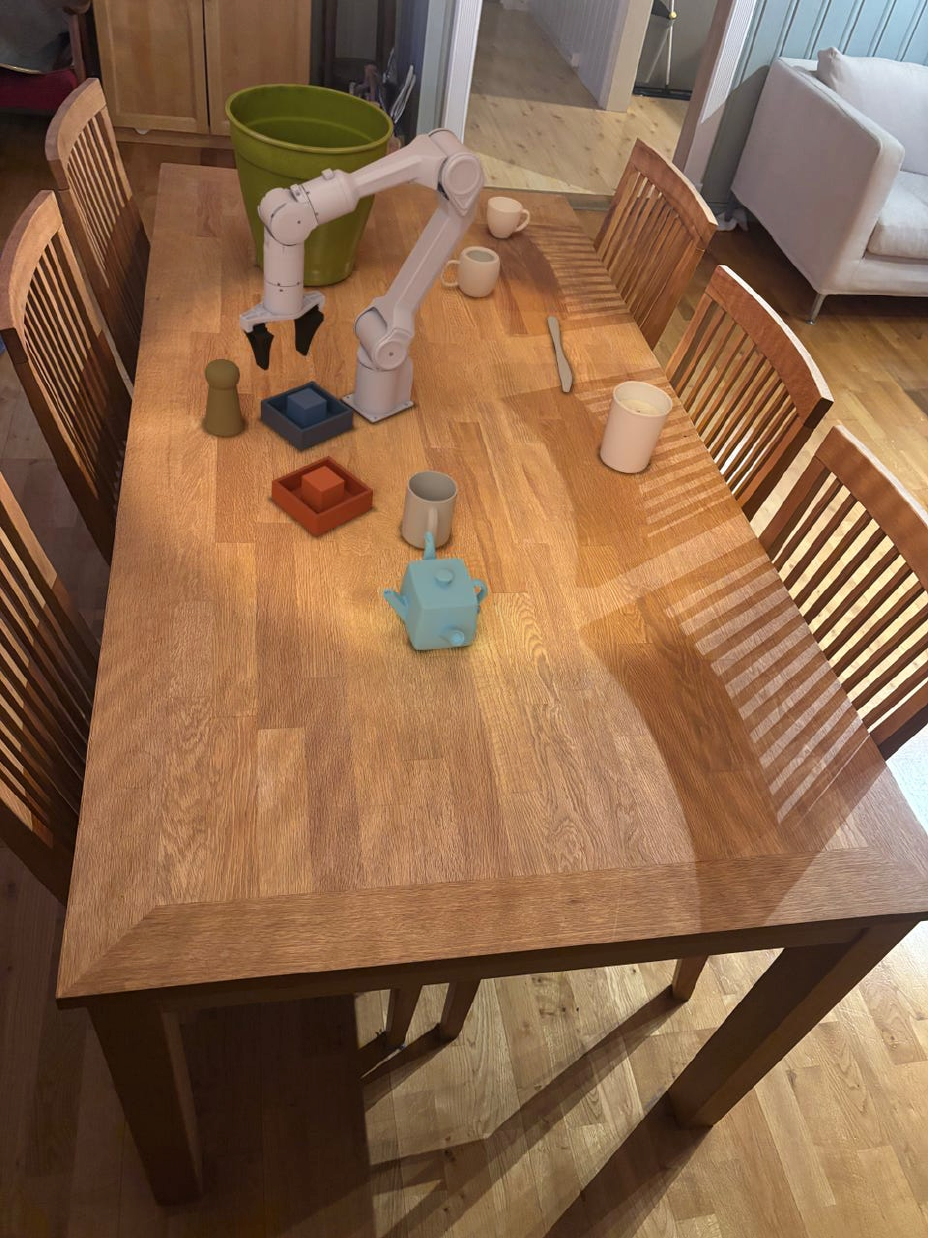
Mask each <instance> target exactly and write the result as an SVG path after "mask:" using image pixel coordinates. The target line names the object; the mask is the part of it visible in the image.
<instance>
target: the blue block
mask: <svg viewBox="0 0 928 1238" xmlns="http://www.w3.org/2000/svg"><path fill="white" fill-rule="evenodd" d="M326 406H327V401H326V400H325V399H324V398H322V397H321V396H320V395H318V394H317V393H316V392H314V391H313V390H312V389H310V388H307V389H305V390H302V391H299V392H297V393H294V394H292V395H289V396H288V399H287V418H288V419H289V420H290V421H291V422H293V423H294V424H295V425H297V426H298V427H299V428H301V429H305V428H307V427H310V426H312V425H314V424H317V423H319V422H322V421H324V420H326Z"/></svg>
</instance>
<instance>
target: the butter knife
mask: <svg viewBox="0 0 928 1238" xmlns="http://www.w3.org/2000/svg"><path fill="white" fill-rule="evenodd" d="M547 324H548V327H549V331H550V334H551V337H552V340H553V344H554V349H555V355H556V361H557V367H558V373H559V377H560V381H561V387H562V392H565V393H570V390H571V387H572V382H573V375H572V371H571V368H570V365H569V363H568V361H567V359H566V357H565V355H564V352H563V350H562V345H561V340H560V336H561V335H560V333H561V332H560V324H559V321H558V319H557V317H556V316H554V315H549V316H548V317H547Z"/></svg>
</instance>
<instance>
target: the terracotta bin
mask: <svg viewBox="0 0 928 1238" xmlns="http://www.w3.org/2000/svg"><path fill="white" fill-rule="evenodd" d="M323 466H326V467H328V468H329V469H330V470H331V471H333V472H334V473H335V474H336V475H338V476H339V477H340V478H342V479H343V480H344V481H345V483H344V496H343V502H342V503H340V504H338V505H336V506H334V507H332V508H330V509H328V510H326V511H324V512H322V513H320V514H318V513H317V512H316V511H314V510H313V509H312V508H311V507H309V506H308V505H307V504H306V503H305V502H303V501H302V500H301V488H302V476H303V475H306V474H308V473H310V472H312V471H315V470H317V469H319V468H321V467H323ZM373 499H374V490H373V488H371V487H369V486H368V485H367V484H366V483H364V482H363V481H362V480H360V479H359V478H358V477H357V476H356V475H354V474H353V473H352V472H350V471H349V470H347V469H346V468H345V467H343V465H341V464H340V463H339V462H337V461H336V460H334V459H333V458H332V457H331V456H330V455H327V456H325V457H322V458H320V459H318V460H315V461H313V462H311V463H308V464H307V465H305V466H302V467H300V468H298V469H295V470H293V471H291V472H289V473H286V474H284V475H281V476H280V477H277V478H275V479H273V480H272V481H271V501H273V502H274V503H275V504H276V505H277V506H278V507H280V508H281V509H282V510H283V511H285V513H287V514H288V515H289V516H291V517H292V518H293V519H294V520H295V521H296V522H298V523H299V524H300V525H301V526H303V527H304V528H305V530H307V531H308V532H310V533H311V534H312V535H313V536H314V537H319V536H321V535H322V534H325V533H326V532H329V531H331V530H332V529H335V528H336V527H338V526H341V525H342V524H344V523H346V522H349V521H350V520H352V519H355V518H356V517H358V516H360V515H362V514H364V513H367V512H368V511H371V510H372V507H373Z"/></svg>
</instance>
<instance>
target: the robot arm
mask: <svg viewBox="0 0 928 1238" xmlns="http://www.w3.org/2000/svg"><path fill="white" fill-rule="evenodd" d="M410 182H414V183H416V184H419V185H421V186H424V187H426V188H428V189H430V190H434V194H435V198H436V201H437V207H436V208H435V210H434V213H433V214H432V216H431V217H430V219H429V221H428V223H427V224H426V226H425V228H424V229H423V231H422V233H421V234H420V235H419V238H418V239H417V241H416V242H415V245H414V246H413V248H412V250H411V252H410V253H409V254H408V256H407V258H406V259H405V261H404V263H403V265H402V267H401V268H400V269H399V271H398V273H397V274H396V277H394V280H393V281H392V283H391V285H390V286H389V288H388V289H387V291H386V293H385V294H384V295H380V296H376V297H374V298H373V299H372V301H370V304H369V305H368V306H367V307H366V308H364V309H363V310H362V311H361V312H360V313H358V315H357V316H356V318H355V319H354V320H353V321H354V322H353V328H352V329H353V333H354V335H355V337H356V338H357V339H358V340H359V341H358V349H357V352H356V362H355V373H354V374H355V375H354V386H353V387H354V388H353V392H352V393H350V394H348V395H345V396H343V397H342V398H341V402H343V403H344V404H345V405H347V406H348V407H349V408H351V409H352V410H353V411H356V412H357V413H359V415H362V417H364V418H365V419H367V420H368V421H369V422H371V423H376V422H378V421H382V420H383V419H385V418H387V417H390V416H393V415H395V414H397V413H399V412H401V411H404V410H406V409H409V408H410V407H413V406H414V402H413V401H412V400H411V397H412V396H411V395H412V389H413V381H414V372H415V370H414V369H415V368H414V364H413V360H412V358H411V357H410V355H409V353H410V346H411V344H412V341H413V340H414V338H415V335H416V325H415V324H416V321H415V320H416V319H415V316H416V314H417V312H418V311H419V309H420V308H421V307H422V305H423V303H424V301H425V300H426V298H427V296H428V295H429V294H430V292H431V290H432V288H433V287H434V285H435V284H436V282H437V280H438V279H439V278H440V274H441V272H442V270H443V269H444V267H445V266H446V264H447V262H448V261H449V260H451V258H452V256H453V254H454V252H455V251H456V250H457V248H458V246H459V245H460V243H461V242H462V240H463V238H464V236H465V235H466V234H467V231H468V230H469V229H470V227H471V225H472V223H473V222H474V220H475V218H476V216H477V214H478V208H479V207H478V206H479V201H480V195H481V191H482V189H483V187H484V186H485V184H486V183H487V178H486V174H485V171H484V167H483V164H482V161H481V160H480V158H479V156H477V155H476V154H475V153H473V152H472V151H471V150H470V149H469V148H468V147H467V146H465V144H464V143H462V141H461V140H460V139H459V138H458V136H457V135H456V134H455V133H454V132H453V131H452V130H450V129H449V128H446V127H438V128H434V129H432V130H430V131H428V132H427V133H422V134H418V135H416V136H415V137H414V139H412V140H411V142H409V144H407V145H405V146H404V147H402V148H400V149H397V150H395V151H393V152H391V153H390V154H388V155H387V154H386V156H385V157H383V158H381V159H379V160H377V161H375V162H373V163H371V164H369V165H367V166H365V167H363V168H361V169H359V170H357V171H355V172H353V173H351V174H349V173H346V172H343V171H341V170H339V169H337V170H334V171H331V169H326V170H324V171H322V176H320V177H317V178H315V179H312V180H310V181H308V182H305V183H303V184H301V185H297V184H294V185H292V186H290V188H291V189H290V190H288V189H286V188H285V189H283V188H276V189H273V190H271V191H269V192H268V193H267V194H266V196H265V197H263V199H262V201H261V204H260V206H258V213H259V216H260V218H261V219H262V221H263V222H264V223H265V225H266V226H265V227H264V270H263V294H262V296H261V300H262V301H260V302H259V303H257V304H255V306H253V307H251V308H250V309H249V310H247V311H245V312H244V313H241V314H239V315H238V327H239V328H240V329H241V330H242V331H243V333H244V335H245V336H246V338H247V340H248V342H249V345H250V346H251V349H252V352H253V355H254V359H255V363H256V366H258V368H260V369H261V370H263V371H267V370H269V367H270V359H271V356H270V355H271V347H272V343H273V340H274V338H275V335H274V334H273V333H271V332H270V331H269V330H268V327H266V325H267V324H270V323H274V322H275V323H276V322H285V321H293V322H294V323H293V324H294V348H295V351H296V352H297V353H299V354H300V355H302V357H306V356H308V355H309V350H310V348H311V345H312V342H313V339H314V338H315V337H314V336H315V335H316V333H317V331H318V329H319V328H320V326H321V325H322V323H324V321H325V314H324V313H323V312H322V311H321V310H320V309H325V306H326V305H325V303H326V295H324V294H323V293H321V292H320V291H318V290H313V291H309V292H304V286H303V279H304V241H305V240H306V239H307V237H308V236H309V234H310V232H311V231H312V230H313V229H315V228H316V227H317V226H319V225H321V224H324V223H326V222H329V221H331V220H333V219H336V218H338V217H341V216H343V215H345V214H348V213H350V212H352V211H354V210H355V208H356V206H357V204H358V201H359V200H360V199H361V198H363V197H366V196H369V195H372V194H375V193H376V194H378V193H381V192H385V191H388V190H390V189H393V188H396V187H399V186H401V185H404V184H408V183H410ZM376 194H375V195H376Z"/></svg>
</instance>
